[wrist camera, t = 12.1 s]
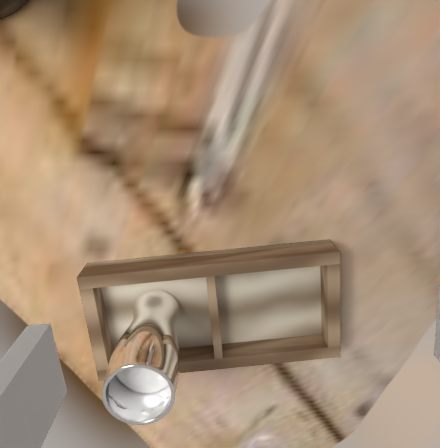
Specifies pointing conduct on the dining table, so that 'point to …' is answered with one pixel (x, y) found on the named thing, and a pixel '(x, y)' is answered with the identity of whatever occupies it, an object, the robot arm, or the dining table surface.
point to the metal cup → (145, 362)
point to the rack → (225, 303)
